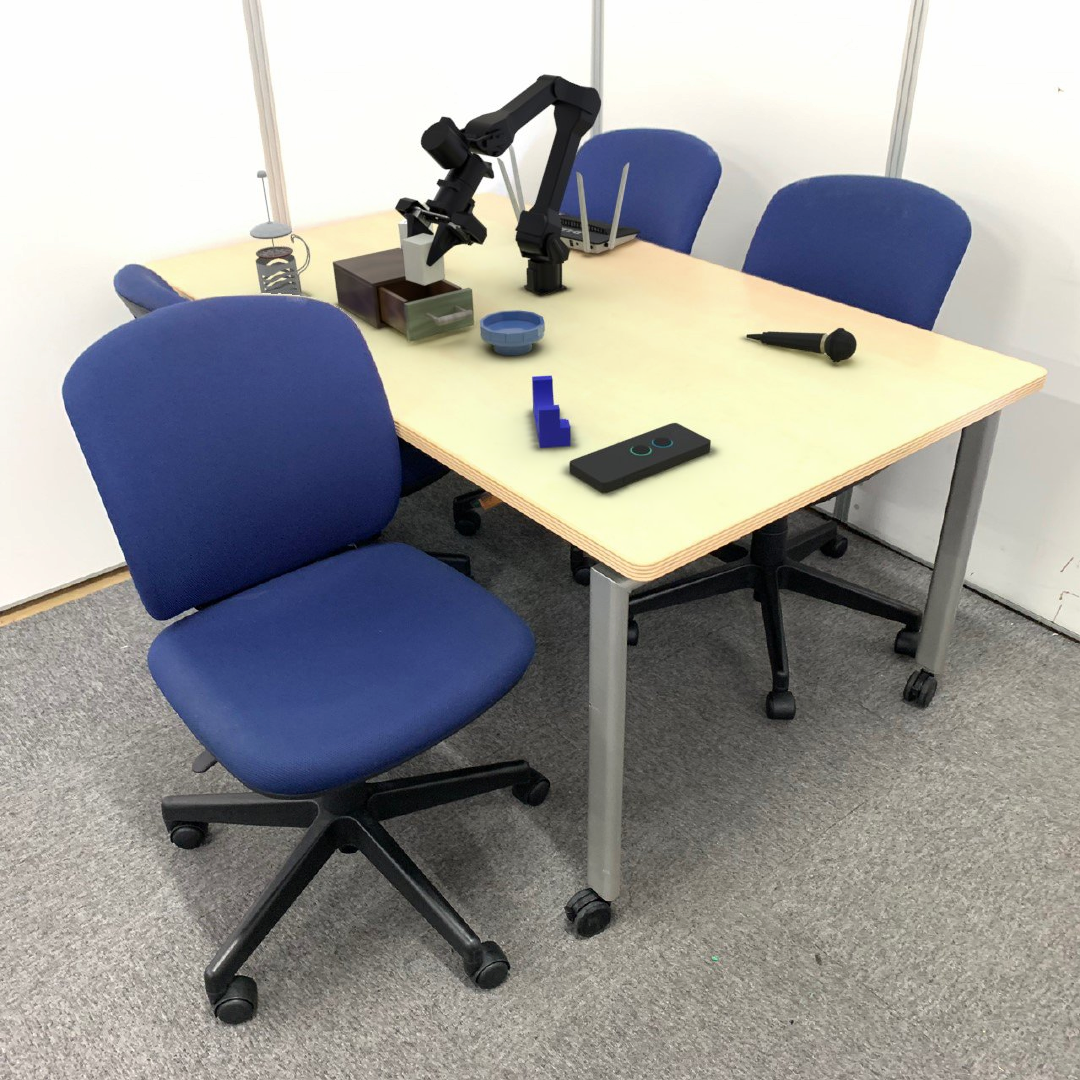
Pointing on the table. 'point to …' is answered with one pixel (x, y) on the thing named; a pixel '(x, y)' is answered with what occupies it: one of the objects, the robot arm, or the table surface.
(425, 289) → the drawer
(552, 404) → the blue stepped block
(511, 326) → the blue bowl
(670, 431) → the smart home device
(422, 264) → the white block
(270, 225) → the french press
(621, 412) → the table surface
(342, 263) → the cabinet
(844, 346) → the microphone
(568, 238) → the wireless router
